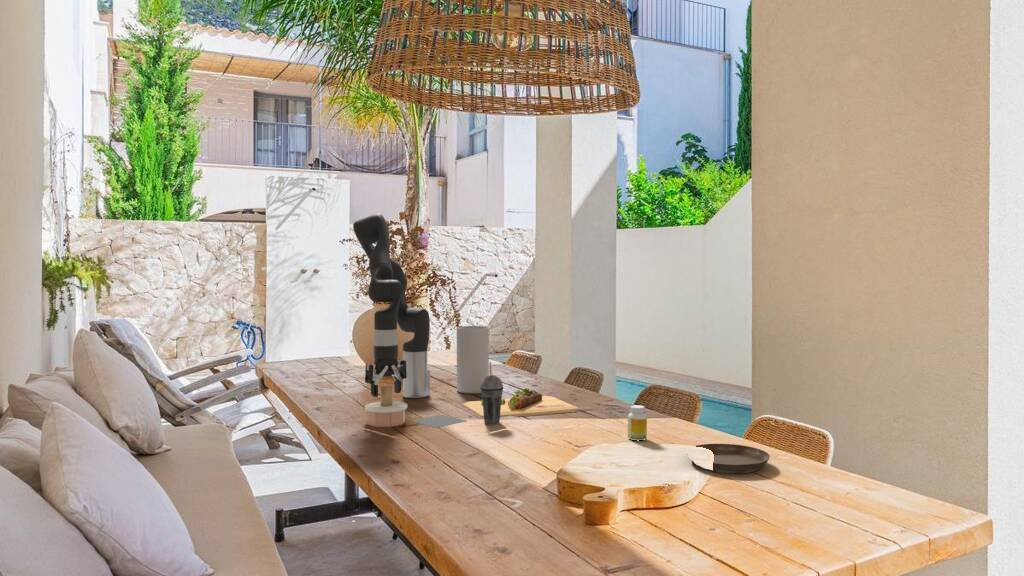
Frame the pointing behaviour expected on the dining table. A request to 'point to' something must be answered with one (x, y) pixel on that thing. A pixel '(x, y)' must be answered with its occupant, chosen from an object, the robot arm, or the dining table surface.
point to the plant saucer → (736, 458)
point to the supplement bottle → (637, 423)
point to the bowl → (385, 419)
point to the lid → (386, 403)
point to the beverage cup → (491, 398)
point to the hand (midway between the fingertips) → (386, 394)
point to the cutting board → (525, 405)
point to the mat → (438, 421)
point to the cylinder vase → (472, 358)
